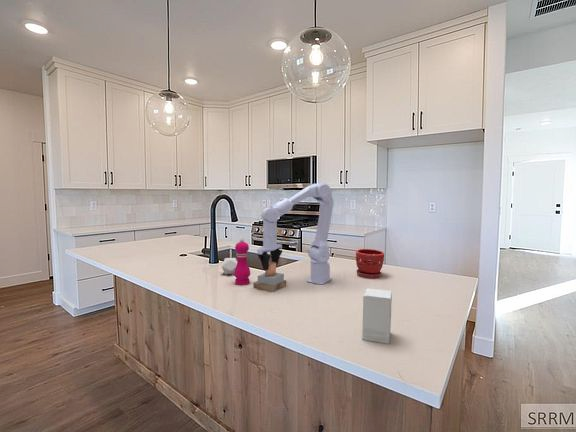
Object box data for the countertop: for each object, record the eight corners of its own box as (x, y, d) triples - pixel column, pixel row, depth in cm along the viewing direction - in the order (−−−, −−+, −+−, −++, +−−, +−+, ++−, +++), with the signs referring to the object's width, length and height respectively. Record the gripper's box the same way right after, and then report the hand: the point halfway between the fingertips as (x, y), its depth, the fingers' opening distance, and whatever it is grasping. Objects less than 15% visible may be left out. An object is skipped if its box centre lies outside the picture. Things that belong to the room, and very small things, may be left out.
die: (233, 278, 149) (243, 260, 152) (217, 269, 148) (227, 252, 152) (232, 280, 156) (242, 263, 160) (217, 271, 156) (227, 254, 159)
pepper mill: (247, 285, 135) (246, 240, 133) (231, 284, 137) (230, 239, 135) (252, 281, 142) (252, 237, 141) (237, 280, 144) (237, 236, 142)
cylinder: (269, 272, 136) (269, 260, 135) (277, 274, 133) (278, 263, 133) (263, 274, 132) (263, 262, 131) (271, 276, 130) (272, 265, 129)
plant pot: (355, 278, 146) (355, 253, 145) (355, 271, 159) (356, 248, 158) (384, 280, 143) (385, 254, 142) (382, 273, 156) (383, 249, 155)
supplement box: (389, 344, 84) (390, 298, 83) (361, 339, 87) (362, 295, 86) (391, 332, 91) (392, 290, 90) (365, 328, 94) (366, 287, 93)
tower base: (267, 283, 141) (267, 276, 140) (286, 287, 135) (286, 280, 135) (253, 289, 132) (253, 282, 132) (272, 293, 127) (272, 286, 126)
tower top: (268, 278, 138) (268, 271, 138) (283, 280, 134) (283, 274, 134) (257, 282, 131) (257, 275, 131) (273, 285, 128) (273, 278, 127)
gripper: (272, 233, 140) (272, 263, 141) (251, 237, 128) (251, 270, 129) (285, 234, 136) (285, 265, 137) (265, 239, 124) (265, 273, 125)
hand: (270, 268), depth 133 cm, fingers open, 6 cm apart
